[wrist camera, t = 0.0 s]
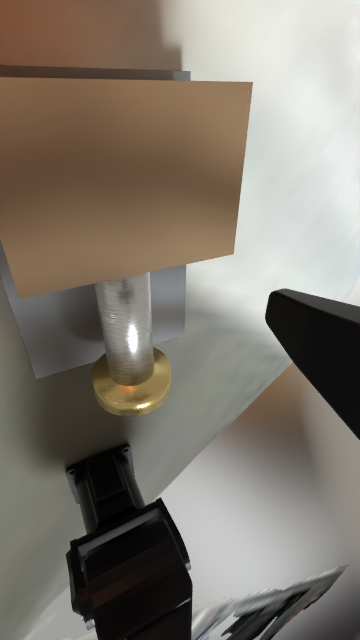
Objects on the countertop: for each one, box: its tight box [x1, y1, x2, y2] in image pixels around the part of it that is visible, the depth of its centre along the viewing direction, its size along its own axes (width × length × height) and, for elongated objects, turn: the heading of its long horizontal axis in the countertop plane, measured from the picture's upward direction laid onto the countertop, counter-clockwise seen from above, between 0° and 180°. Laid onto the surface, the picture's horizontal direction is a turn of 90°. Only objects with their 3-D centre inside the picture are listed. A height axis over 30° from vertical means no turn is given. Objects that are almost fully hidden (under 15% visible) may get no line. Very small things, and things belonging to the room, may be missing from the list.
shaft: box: [92, 272, 171, 417], centre depth 19 cm, size 12×5×5 cm, turn 179°
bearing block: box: [0, 65, 253, 379], centre depth 18 cm, size 18×12×8 cm, turn 179°
